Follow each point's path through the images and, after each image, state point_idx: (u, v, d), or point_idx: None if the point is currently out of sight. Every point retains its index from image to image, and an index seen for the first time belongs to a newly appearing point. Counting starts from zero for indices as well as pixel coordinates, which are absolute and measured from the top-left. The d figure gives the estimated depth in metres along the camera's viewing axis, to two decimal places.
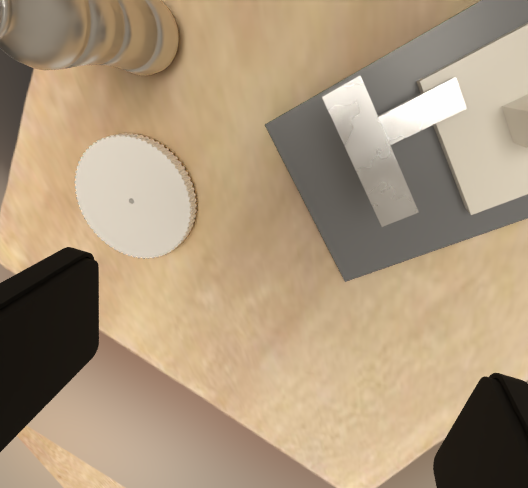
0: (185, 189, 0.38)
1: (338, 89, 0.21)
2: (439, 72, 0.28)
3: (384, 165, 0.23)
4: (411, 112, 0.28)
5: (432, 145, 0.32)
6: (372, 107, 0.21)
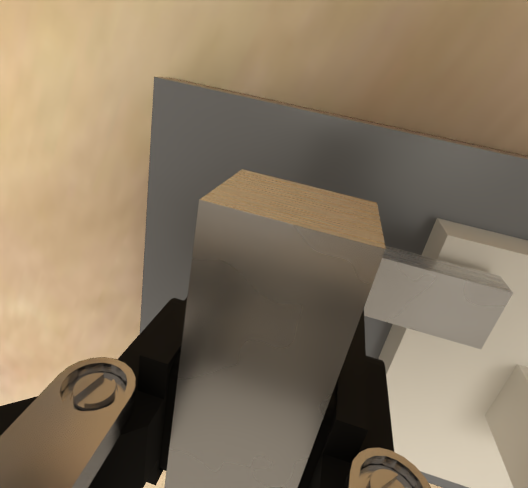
0: None
1: (273, 226, 0.05)
2: (487, 247, 0.13)
3: None
4: (397, 284, 0.13)
5: None
6: (336, 365, 0.05)
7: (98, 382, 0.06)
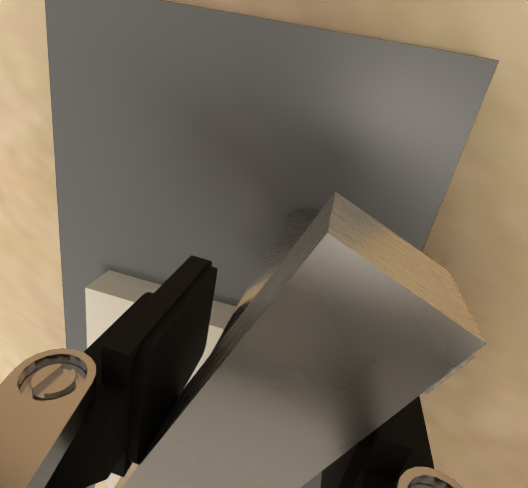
0: None
1: (390, 285, 0.05)
2: None
3: None
4: None
5: (222, 292, 0.19)
6: (378, 420, 0.05)
7: (57, 373, 0.06)
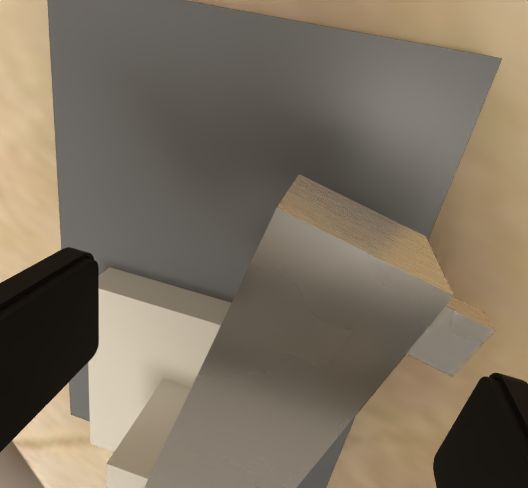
0: None
1: (347, 250, 0.05)
2: None
3: None
4: None
5: (223, 290, 0.19)
6: (367, 392, 0.05)
7: None
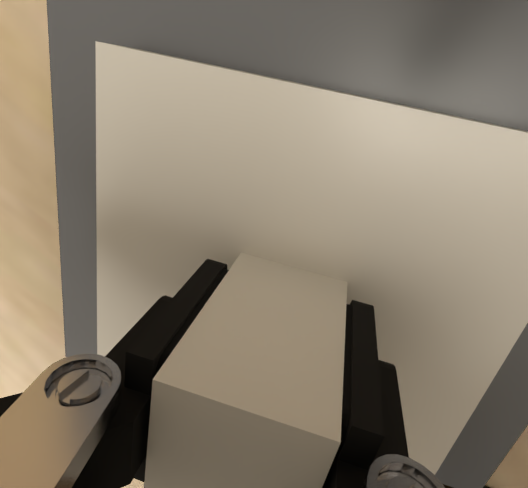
0: None
1: None
2: None
3: None
4: None
5: (366, 71, 0.10)
6: None
7: (83, 378, 0.06)
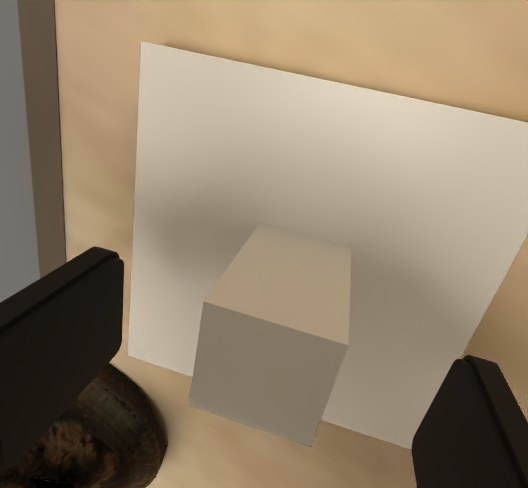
0: None
1: None
2: None
3: None
4: None
5: None
6: None
7: None
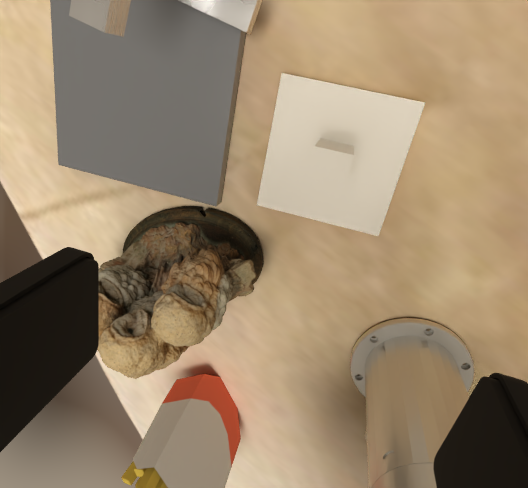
0: None
1: None
2: (417, 120, 0.30)
3: None
4: None
5: (146, 39, 0.33)
6: None
7: None
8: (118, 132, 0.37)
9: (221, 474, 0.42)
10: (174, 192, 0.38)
